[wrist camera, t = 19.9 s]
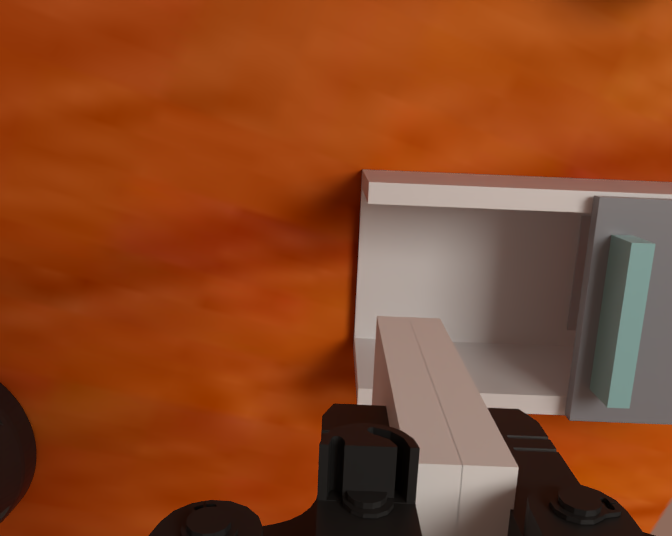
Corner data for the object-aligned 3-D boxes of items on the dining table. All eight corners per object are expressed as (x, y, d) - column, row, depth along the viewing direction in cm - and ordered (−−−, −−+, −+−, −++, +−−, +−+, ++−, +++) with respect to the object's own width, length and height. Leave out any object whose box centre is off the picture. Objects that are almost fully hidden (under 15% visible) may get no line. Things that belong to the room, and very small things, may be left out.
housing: (353, 348, 47) (358, 419, 36) (362, 169, 44) (370, 184, 33) (682, 361, 47) (792, 436, 36) (714, 183, 44) (844, 204, 33)
